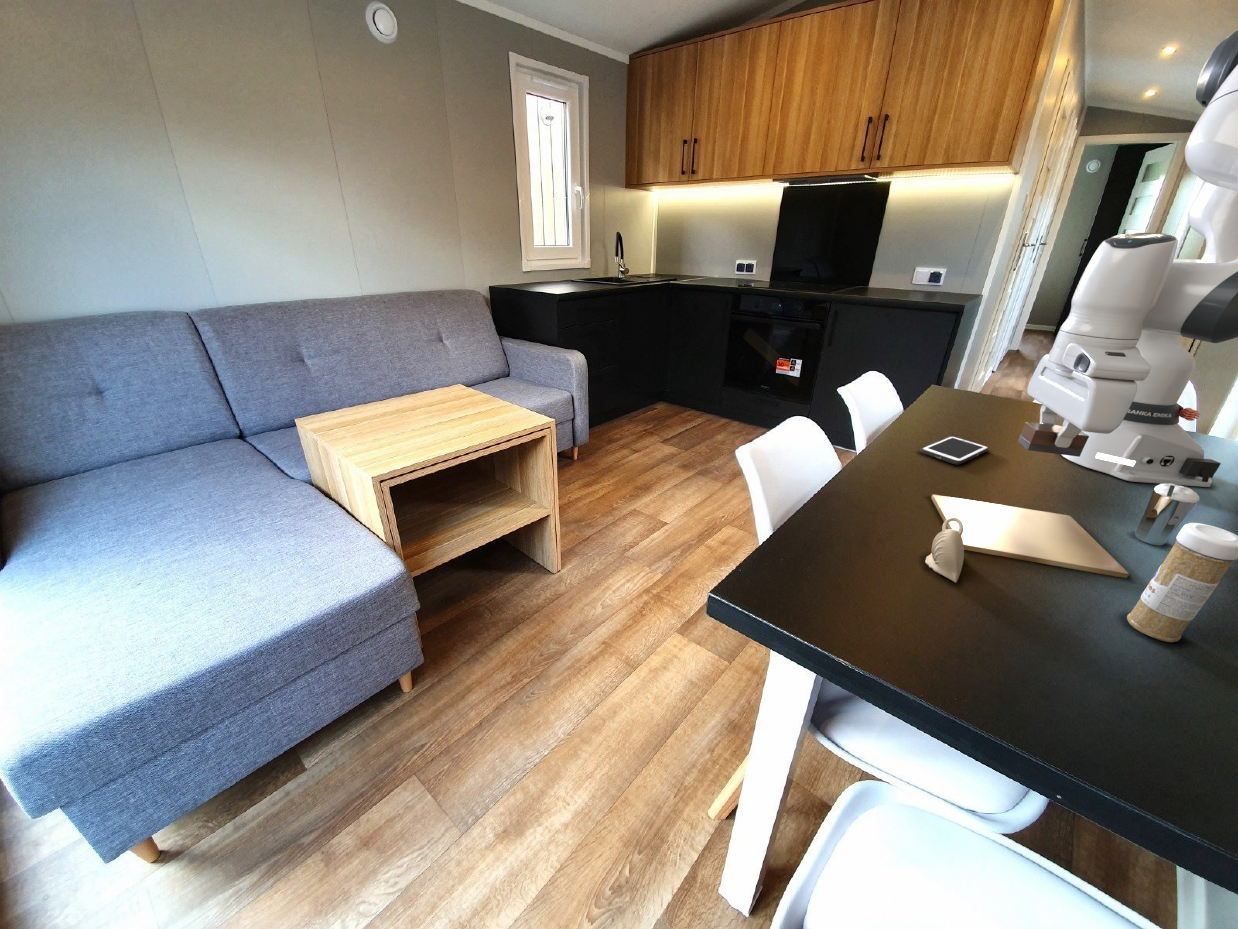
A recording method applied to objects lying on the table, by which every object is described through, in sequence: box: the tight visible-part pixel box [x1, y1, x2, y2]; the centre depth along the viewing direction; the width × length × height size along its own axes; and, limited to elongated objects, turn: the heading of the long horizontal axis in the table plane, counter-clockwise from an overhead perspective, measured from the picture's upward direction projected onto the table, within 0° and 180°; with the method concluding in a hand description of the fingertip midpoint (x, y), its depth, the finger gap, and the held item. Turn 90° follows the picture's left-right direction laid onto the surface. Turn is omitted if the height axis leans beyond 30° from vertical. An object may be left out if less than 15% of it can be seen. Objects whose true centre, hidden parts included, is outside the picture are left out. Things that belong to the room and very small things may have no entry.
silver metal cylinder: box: [1134, 483, 1200, 547], centre depth 73 cm, size 4×5×10 cm
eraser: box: [1017, 421, 1089, 457], centre depth 79 cm, size 7×4×4 cm, turn 72°
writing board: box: [930, 494, 1130, 579], centre depth 75 cm, size 20×16×1 cm
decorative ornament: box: [924, 517, 965, 584], centre depth 66 cm, size 4×8×5 cm, turn 139°
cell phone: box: [920, 435, 989, 466], centre depth 104 cm, size 8×15×1 cm, turn 125°
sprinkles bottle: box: [1126, 522, 1238, 643], centre depth 54 cm, size 5×5×13 cm
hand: (1051, 439), depth 79 cm, fingers closed on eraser, 4 cm apart
